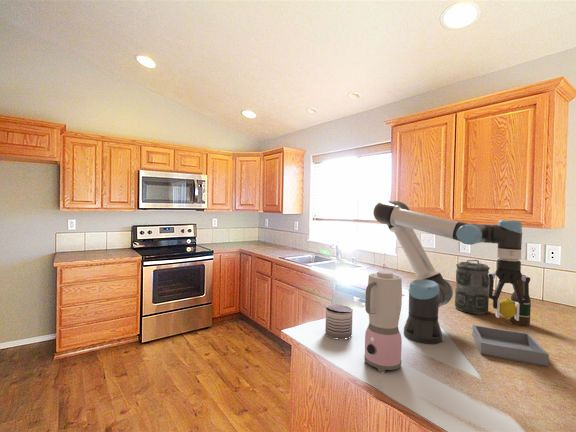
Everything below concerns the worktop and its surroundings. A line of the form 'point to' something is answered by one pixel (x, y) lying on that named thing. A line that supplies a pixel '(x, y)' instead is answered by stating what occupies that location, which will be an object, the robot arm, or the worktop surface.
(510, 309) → the lemon
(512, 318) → the beer bottle
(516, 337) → the box
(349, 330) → the can
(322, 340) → the worktop surface
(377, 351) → the blender
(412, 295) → the robot arm
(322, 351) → the worktop surface
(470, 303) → the canister
